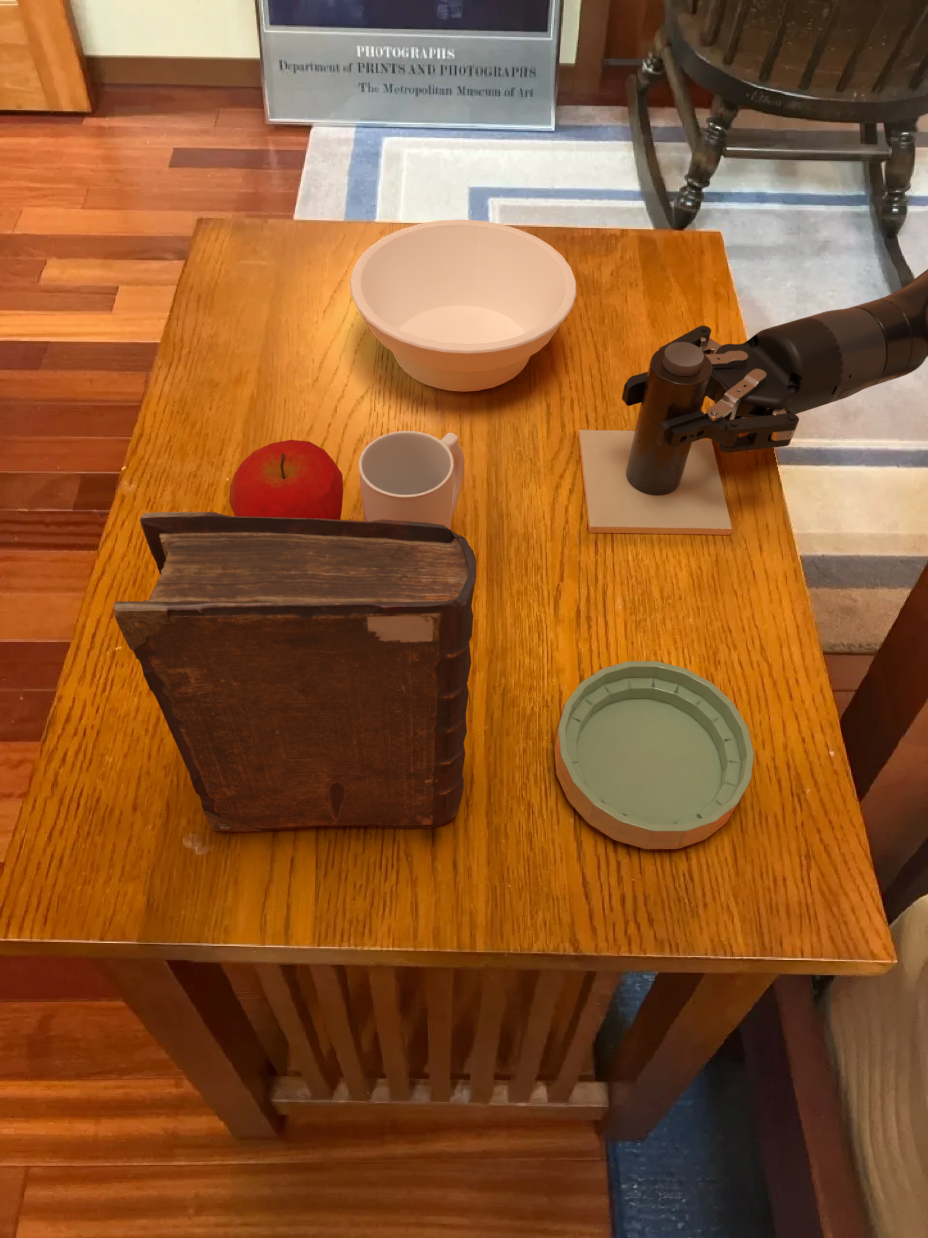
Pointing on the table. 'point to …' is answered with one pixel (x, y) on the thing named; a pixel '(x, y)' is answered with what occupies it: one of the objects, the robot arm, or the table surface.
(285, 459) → the apple
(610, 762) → the celadon bowl
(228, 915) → the table surface
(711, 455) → the tile
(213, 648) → the book
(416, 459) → the mug
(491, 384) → the bowl
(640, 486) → the thermos flask
